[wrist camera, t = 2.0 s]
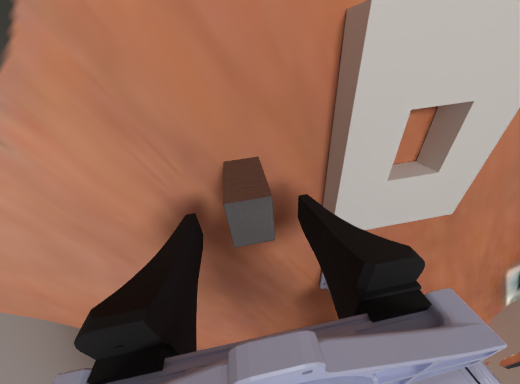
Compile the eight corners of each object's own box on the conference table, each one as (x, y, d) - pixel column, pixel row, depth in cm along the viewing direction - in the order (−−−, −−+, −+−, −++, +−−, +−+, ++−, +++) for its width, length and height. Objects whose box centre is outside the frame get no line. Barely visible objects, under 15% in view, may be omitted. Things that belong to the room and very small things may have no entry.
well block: (432, 200, 23) (452, 213, 21) (321, 220, 22) (330, 236, 20) (542, -10, 13) (602, -23, 11) (347, 9, 12) (372, -2, 10)
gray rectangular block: (262, 193, 19) (275, 240, 14) (231, 198, 19) (234, 247, 14) (258, 156, 17) (272, 196, 12) (223, 161, 17) (223, 204, 12)
